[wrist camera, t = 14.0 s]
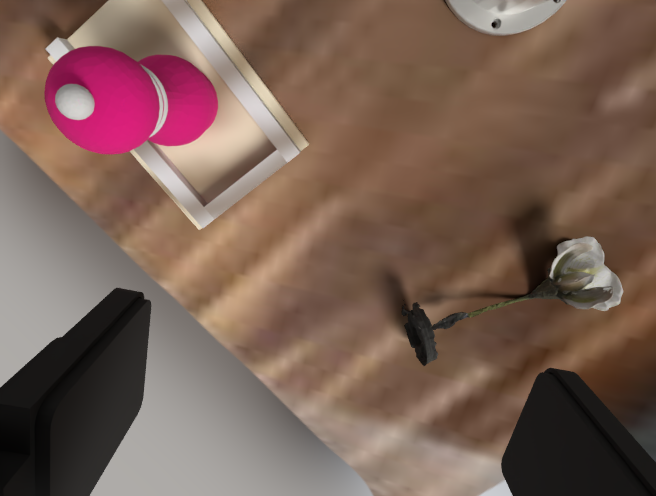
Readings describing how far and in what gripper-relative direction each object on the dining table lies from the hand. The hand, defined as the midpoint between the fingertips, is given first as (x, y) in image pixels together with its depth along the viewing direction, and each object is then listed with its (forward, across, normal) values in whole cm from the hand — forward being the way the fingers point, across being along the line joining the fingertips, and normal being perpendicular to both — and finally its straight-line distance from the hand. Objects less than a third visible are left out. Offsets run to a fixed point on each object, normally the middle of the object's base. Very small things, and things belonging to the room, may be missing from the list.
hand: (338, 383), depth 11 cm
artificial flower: (+36, -21, +9) cm, 43 cm away
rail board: (+35, +14, -3) cm, 38 cm away
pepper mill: (+34, +14, -3) cm, 37 cm away
